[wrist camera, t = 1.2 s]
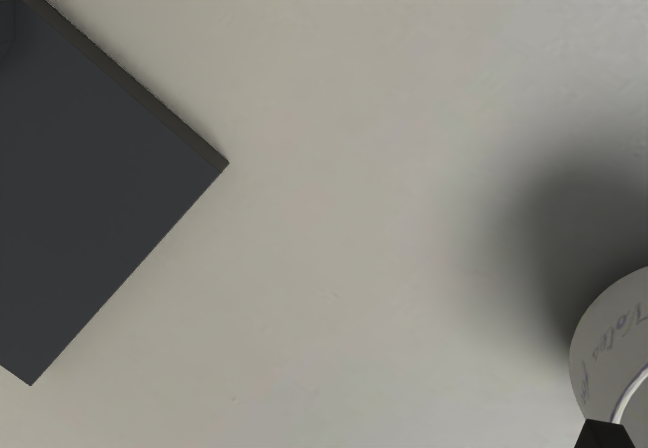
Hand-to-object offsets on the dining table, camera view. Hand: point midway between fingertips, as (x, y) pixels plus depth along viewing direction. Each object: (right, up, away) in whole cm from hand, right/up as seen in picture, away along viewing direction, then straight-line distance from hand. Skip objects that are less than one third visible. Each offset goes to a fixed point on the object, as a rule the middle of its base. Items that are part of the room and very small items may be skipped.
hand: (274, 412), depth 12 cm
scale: (-16, +7, +17) cm, 24 cm away
